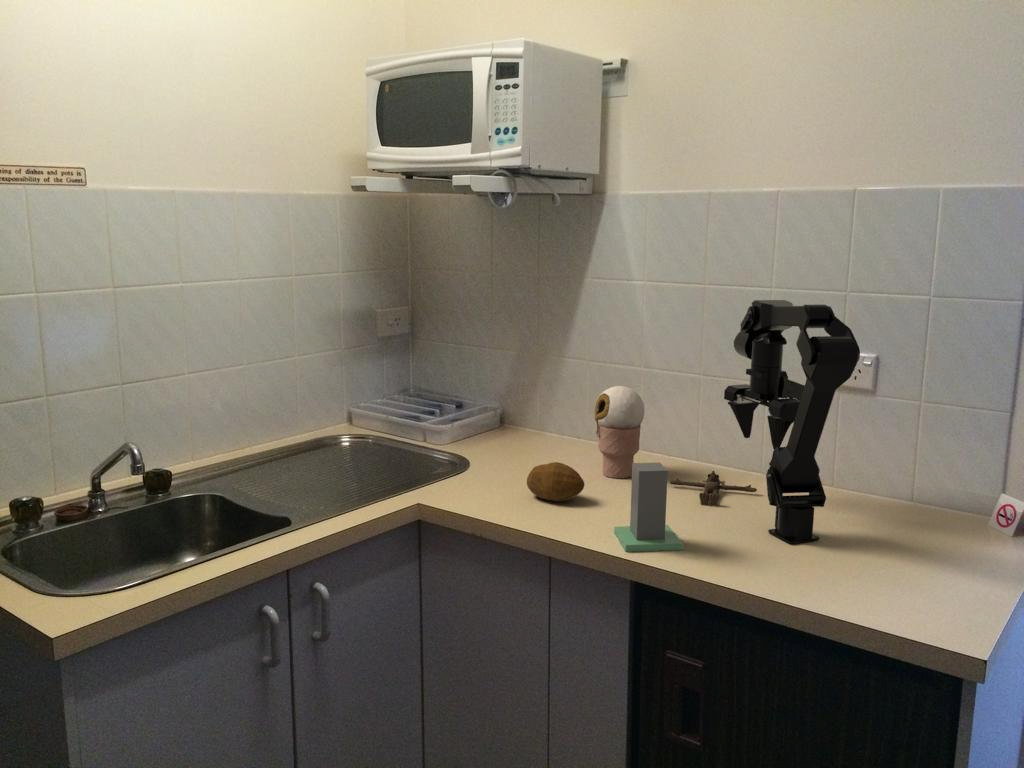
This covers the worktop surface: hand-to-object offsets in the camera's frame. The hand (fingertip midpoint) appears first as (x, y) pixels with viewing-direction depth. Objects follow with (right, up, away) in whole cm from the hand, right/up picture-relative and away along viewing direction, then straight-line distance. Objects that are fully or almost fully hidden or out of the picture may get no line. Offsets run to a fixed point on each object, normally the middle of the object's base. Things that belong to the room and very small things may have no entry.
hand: (761, 443), depth 170 cm
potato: (-40, -12, +6) cm, 42 cm away
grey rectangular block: (-25, -15, -16) cm, 34 cm away
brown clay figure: (-8, -12, +10) cm, 17 cm away
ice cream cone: (-25, -9, +24) cm, 36 cm away
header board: (-25, -16, -16) cm, 34 cm away
